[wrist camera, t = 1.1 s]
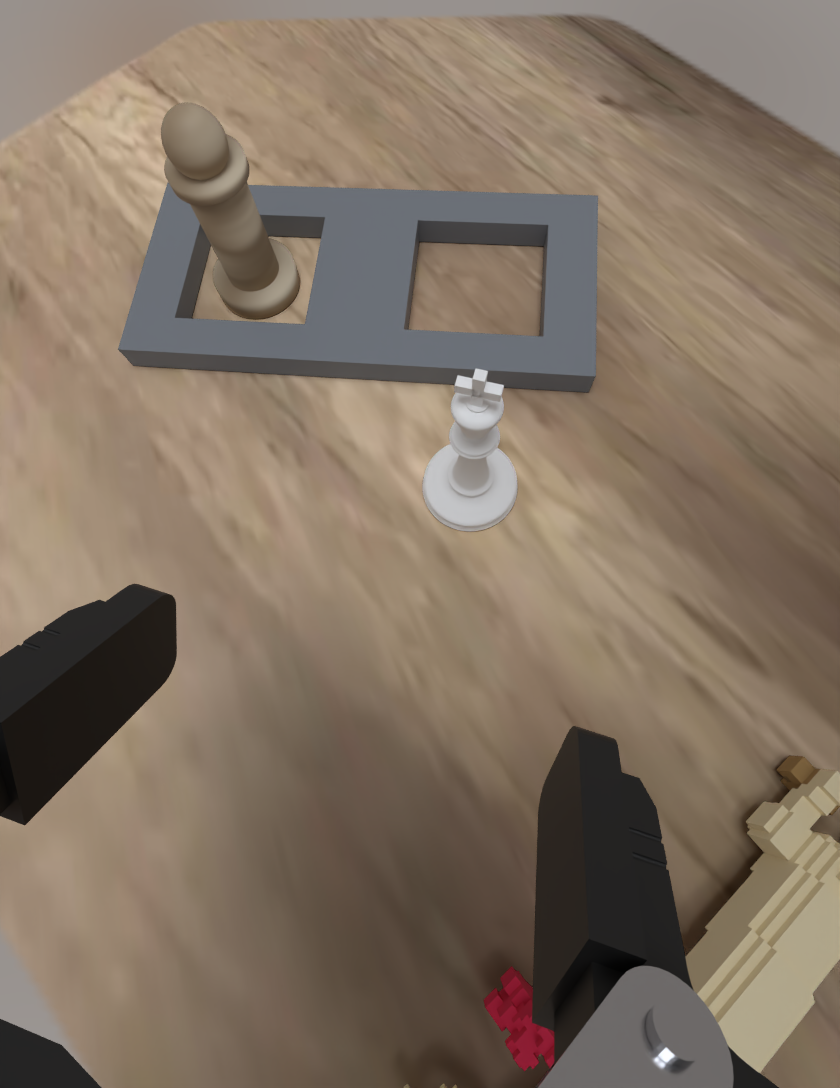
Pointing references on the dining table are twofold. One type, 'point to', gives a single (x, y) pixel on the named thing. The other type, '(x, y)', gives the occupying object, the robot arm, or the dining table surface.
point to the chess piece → (472, 461)
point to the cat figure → (745, 933)
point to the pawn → (227, 213)
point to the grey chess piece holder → (376, 289)
